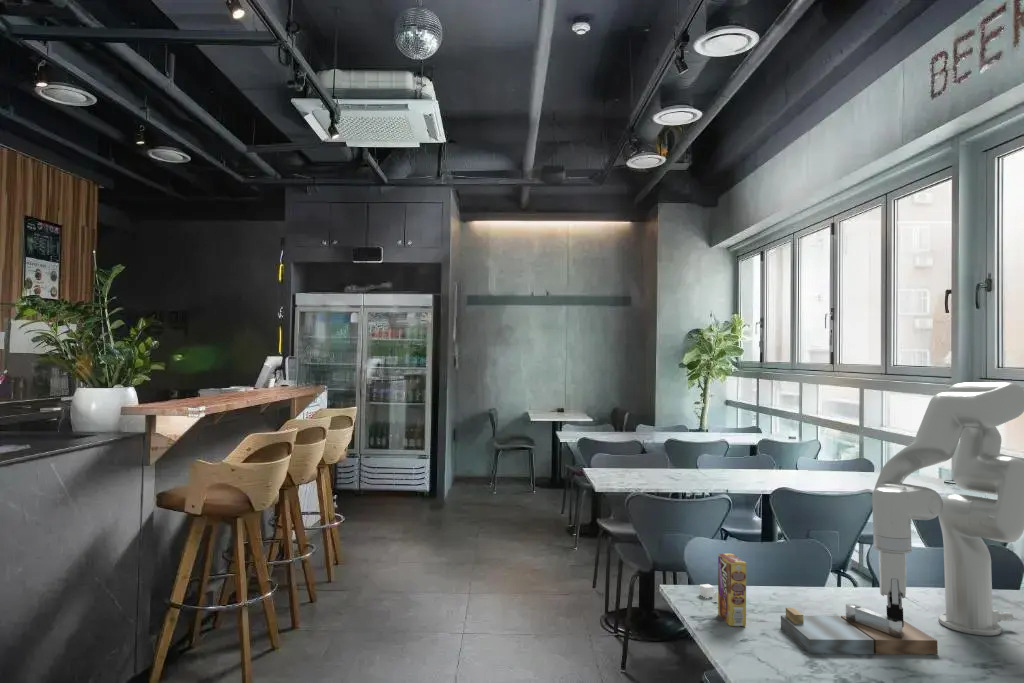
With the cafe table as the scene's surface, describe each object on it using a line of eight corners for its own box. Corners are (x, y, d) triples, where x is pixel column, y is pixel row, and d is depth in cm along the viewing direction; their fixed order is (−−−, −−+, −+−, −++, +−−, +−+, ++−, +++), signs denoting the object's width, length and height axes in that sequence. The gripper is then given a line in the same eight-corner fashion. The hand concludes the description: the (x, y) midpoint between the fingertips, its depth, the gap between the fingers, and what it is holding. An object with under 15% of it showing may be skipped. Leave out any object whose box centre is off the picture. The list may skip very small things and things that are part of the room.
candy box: (747, 627, 159) (747, 562, 160) (730, 627, 159) (729, 562, 160) (734, 614, 168) (733, 553, 169) (717, 614, 168) (716, 553, 169)
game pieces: (698, 596, 183) (698, 584, 183) (708, 595, 184) (708, 583, 184) (725, 610, 171) (725, 597, 172) (736, 608, 172) (736, 596, 173)
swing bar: (842, 617, 156) (842, 604, 157) (852, 615, 158) (851, 603, 158) (896, 637, 144) (896, 623, 145) (906, 635, 146) (905, 621, 146)
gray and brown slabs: (896, 629, 159) (896, 607, 159) (937, 654, 144) (937, 631, 144) (780, 628, 158) (780, 606, 159) (809, 653, 143) (809, 629, 144)
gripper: (872, 534, 159) (875, 612, 158) (874, 548, 146) (877, 633, 145) (909, 537, 155) (912, 617, 154) (914, 552, 142) (917, 639, 141)
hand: (895, 625), depth 150 cm, fingers closed
